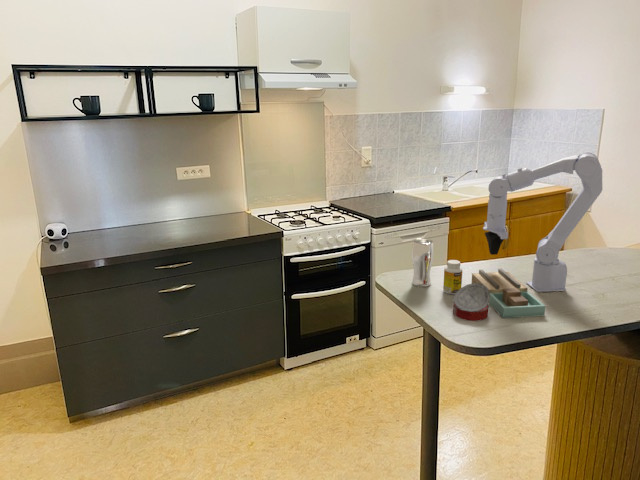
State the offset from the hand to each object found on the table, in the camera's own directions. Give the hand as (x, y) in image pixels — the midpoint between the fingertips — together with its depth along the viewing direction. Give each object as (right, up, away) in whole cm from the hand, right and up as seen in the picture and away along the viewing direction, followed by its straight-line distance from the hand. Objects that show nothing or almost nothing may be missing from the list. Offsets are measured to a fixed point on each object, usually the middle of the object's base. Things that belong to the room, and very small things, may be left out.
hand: (493, 253), depth 163 cm
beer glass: (-24, -10, +2) cm, 26 cm away
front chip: (0, -12, -21) cm, 25 cm away
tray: (0, -16, -19) cm, 25 cm away
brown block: (-1, -13, -19) cm, 23 cm away
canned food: (-14, -17, -21) cm, 30 cm away
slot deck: (-1, -12, -7) cm, 14 cm away
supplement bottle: (-15, -12, -6) cm, 20 cm away
